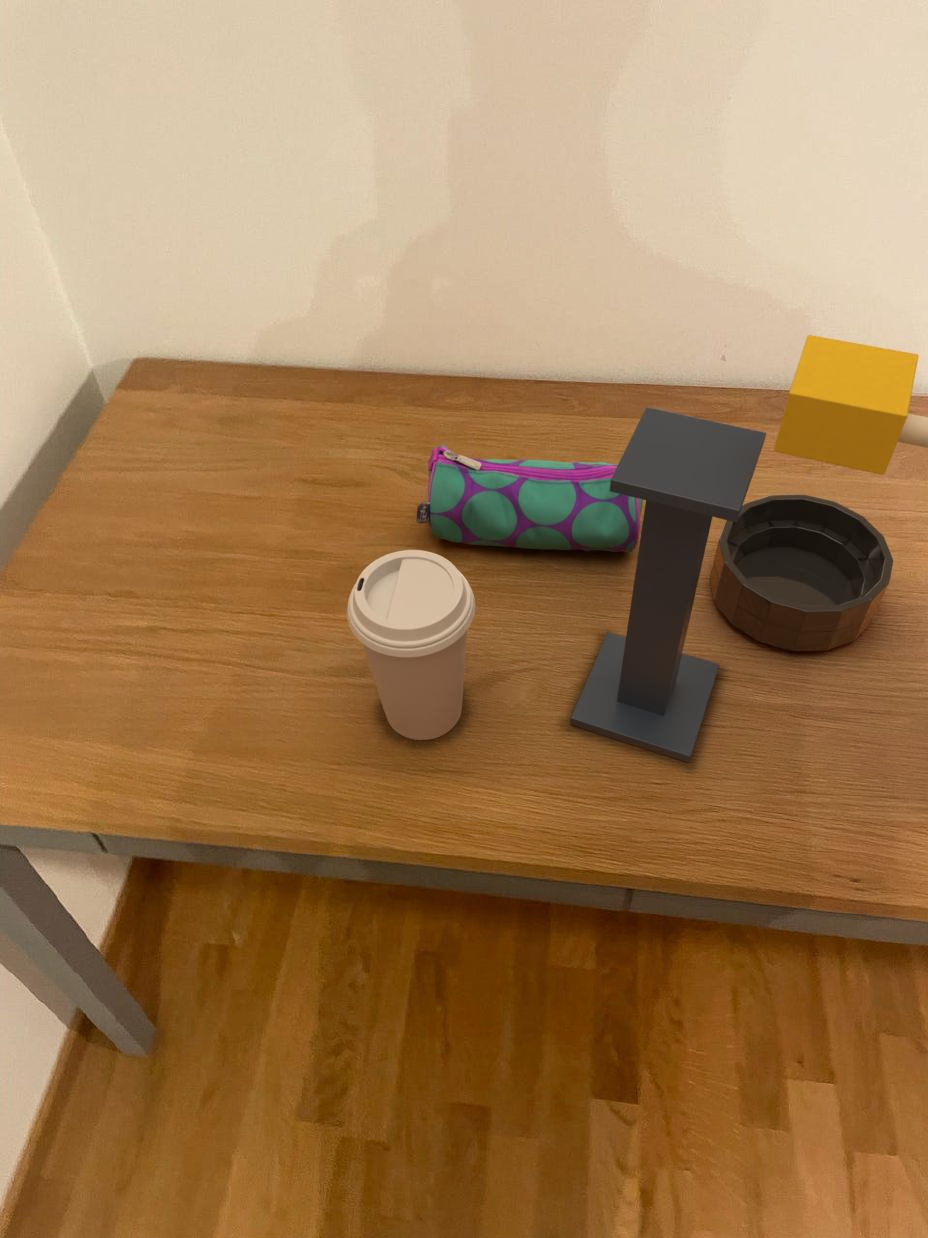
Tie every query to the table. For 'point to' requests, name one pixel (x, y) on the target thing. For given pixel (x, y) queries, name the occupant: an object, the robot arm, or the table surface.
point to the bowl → (800, 572)
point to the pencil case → (528, 504)
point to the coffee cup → (414, 638)
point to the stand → (667, 580)
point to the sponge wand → (850, 405)
